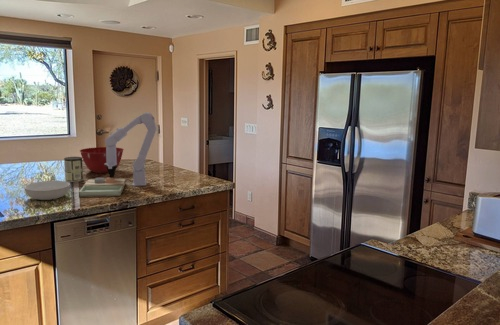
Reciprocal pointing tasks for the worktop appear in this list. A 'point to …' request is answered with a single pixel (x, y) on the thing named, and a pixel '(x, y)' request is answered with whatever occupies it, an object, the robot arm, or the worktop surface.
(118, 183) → the birch board
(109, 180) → the terracotta tile
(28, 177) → the worktop surface
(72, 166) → the coffee can
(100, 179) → the slate tile
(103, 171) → the mixing bowl
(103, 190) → the box
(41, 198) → the serving bowl
